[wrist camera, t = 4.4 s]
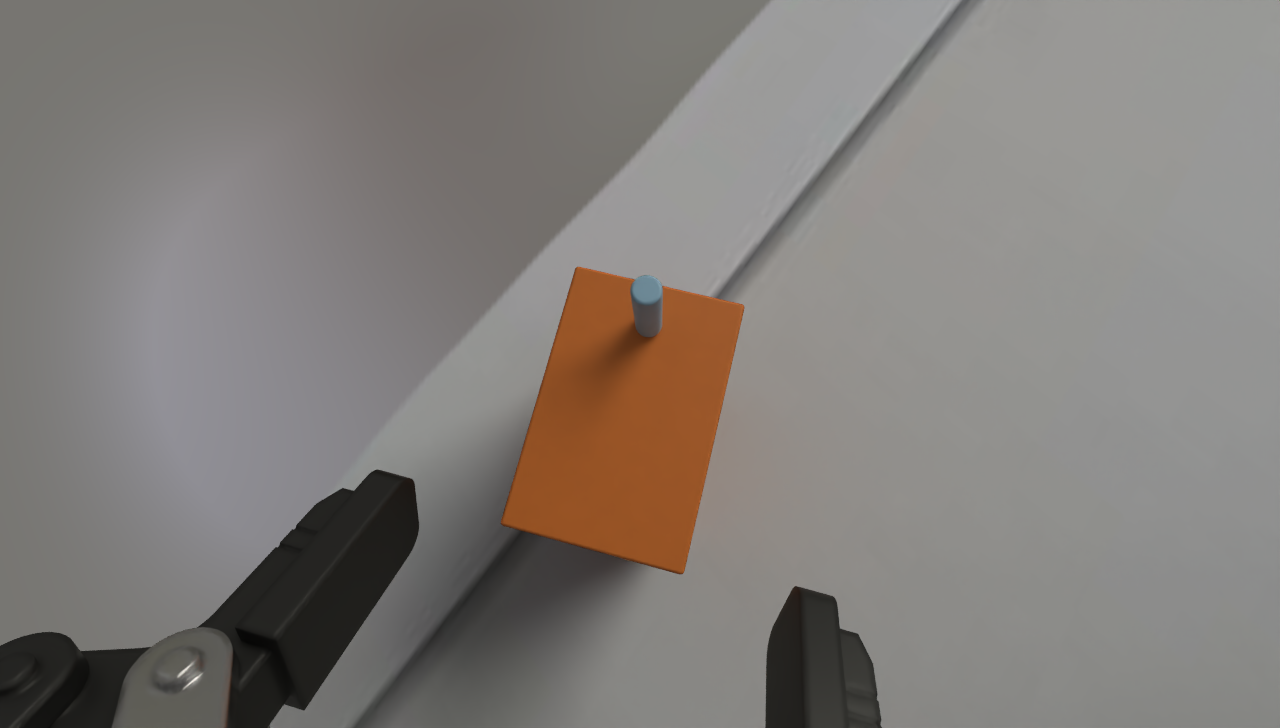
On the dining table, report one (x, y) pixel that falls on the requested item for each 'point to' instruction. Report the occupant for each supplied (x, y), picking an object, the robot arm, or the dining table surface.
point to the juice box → (626, 419)
